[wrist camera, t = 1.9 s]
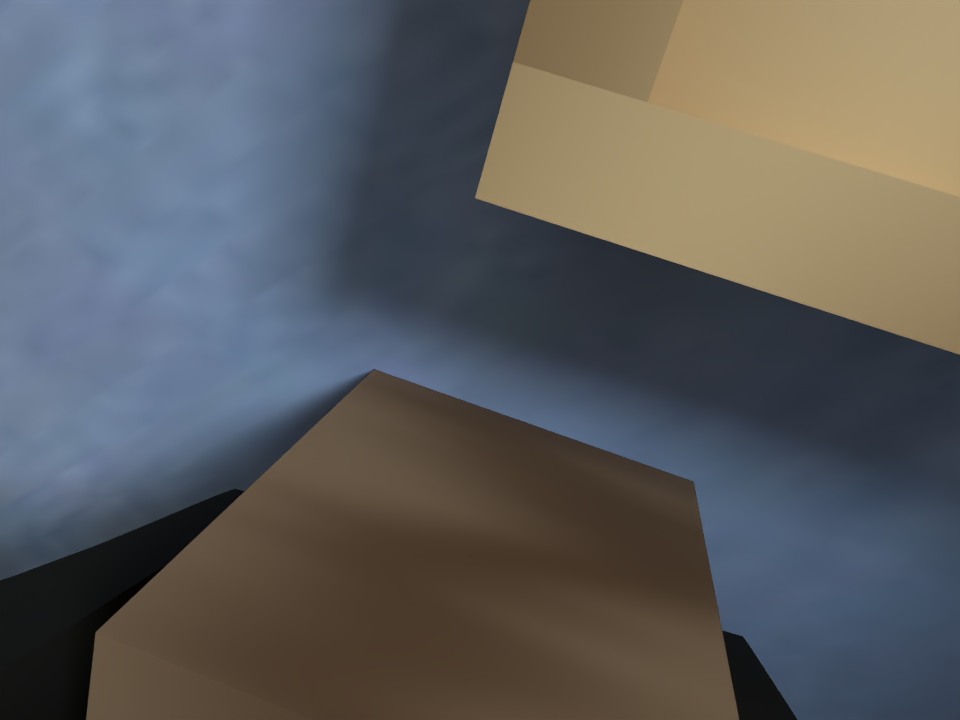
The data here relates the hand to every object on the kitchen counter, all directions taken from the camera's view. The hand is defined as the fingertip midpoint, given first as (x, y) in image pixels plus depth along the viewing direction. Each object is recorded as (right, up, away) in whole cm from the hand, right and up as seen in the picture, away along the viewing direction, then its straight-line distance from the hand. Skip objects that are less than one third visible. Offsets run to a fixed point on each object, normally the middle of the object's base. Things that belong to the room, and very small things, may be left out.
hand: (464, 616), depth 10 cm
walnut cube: (0, 0, +1) cm, 2 cm away
